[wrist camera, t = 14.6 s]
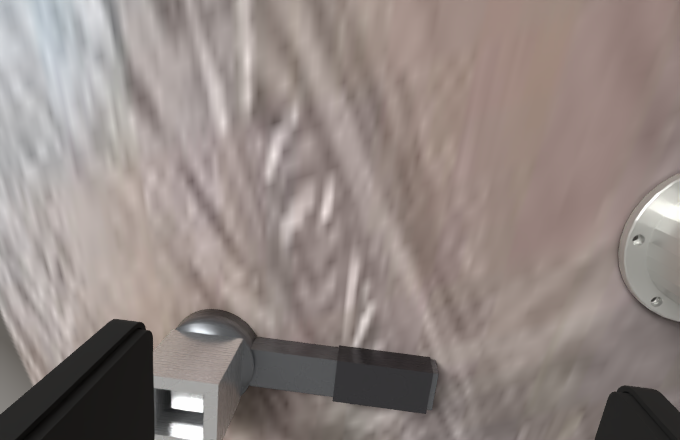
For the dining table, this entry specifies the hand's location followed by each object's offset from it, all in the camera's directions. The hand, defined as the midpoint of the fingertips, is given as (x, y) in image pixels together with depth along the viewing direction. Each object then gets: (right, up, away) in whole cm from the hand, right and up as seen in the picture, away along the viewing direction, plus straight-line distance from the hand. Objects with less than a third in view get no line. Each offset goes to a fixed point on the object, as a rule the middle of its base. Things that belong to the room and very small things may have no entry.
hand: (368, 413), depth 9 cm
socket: (-12, -8, +28) cm, 32 cm away
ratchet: (-4, -9, +30) cm, 32 cm away
